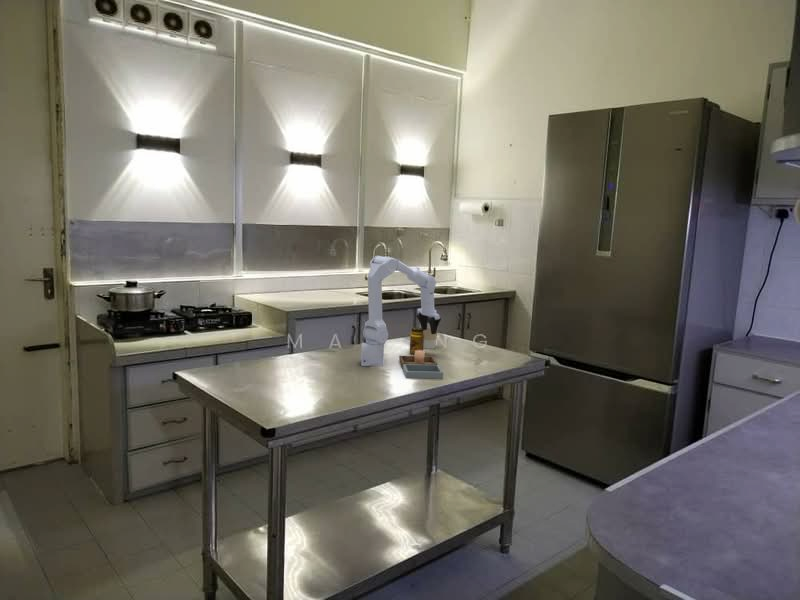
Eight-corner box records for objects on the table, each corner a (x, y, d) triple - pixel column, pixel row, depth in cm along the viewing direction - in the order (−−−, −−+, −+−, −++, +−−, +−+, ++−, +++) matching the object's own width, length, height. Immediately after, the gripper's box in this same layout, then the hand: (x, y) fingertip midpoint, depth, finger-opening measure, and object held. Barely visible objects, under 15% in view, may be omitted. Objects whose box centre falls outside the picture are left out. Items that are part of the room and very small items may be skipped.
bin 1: (402, 370, 228) (402, 363, 228) (399, 362, 240) (399, 355, 239) (437, 371, 230) (437, 363, 229) (432, 363, 241) (432, 356, 241)
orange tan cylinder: (414, 366, 233) (415, 352, 232) (413, 364, 236) (414, 349, 236) (424, 366, 233) (425, 352, 232) (423, 364, 237) (423, 349, 236)
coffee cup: (437, 349, 266) (439, 317, 264) (418, 349, 266) (420, 317, 263) (436, 345, 275) (438, 314, 273) (417, 344, 275) (419, 313, 272)
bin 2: (405, 379, 216) (406, 371, 215) (402, 371, 227) (403, 364, 226) (442, 380, 217) (443, 372, 217) (437, 372, 228) (438, 364, 228)
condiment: (406, 355, 252) (407, 329, 250) (412, 351, 260) (413, 325, 258) (422, 358, 250) (423, 331, 248) (427, 354, 257) (429, 327, 256)
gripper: (444, 303, 246) (446, 333, 250) (426, 297, 258) (427, 326, 262) (431, 306, 243) (432, 337, 246) (412, 300, 255) (414, 329, 258)
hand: (429, 331), depth 254 cm, fingers open, 7 cm apart
